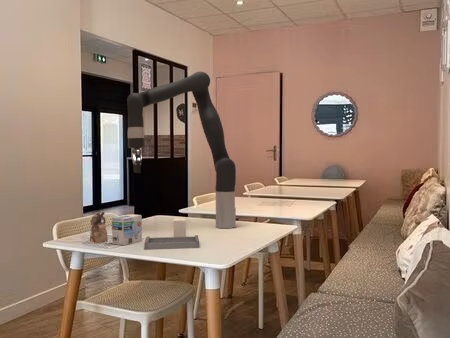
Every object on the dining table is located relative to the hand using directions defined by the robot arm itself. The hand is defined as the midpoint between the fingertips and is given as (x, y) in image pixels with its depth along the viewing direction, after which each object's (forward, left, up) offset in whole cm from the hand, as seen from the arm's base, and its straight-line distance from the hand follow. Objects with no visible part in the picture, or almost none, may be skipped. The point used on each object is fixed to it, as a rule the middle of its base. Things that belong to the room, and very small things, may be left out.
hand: (137, 172), depth 200 cm
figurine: (+14, +22, -27) cm, 38 cm away
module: (-19, +20, -27) cm, 39 cm away
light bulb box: (+2, +26, -27) cm, 38 cm away
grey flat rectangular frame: (-16, +34, -27) cm, 46 cm away
